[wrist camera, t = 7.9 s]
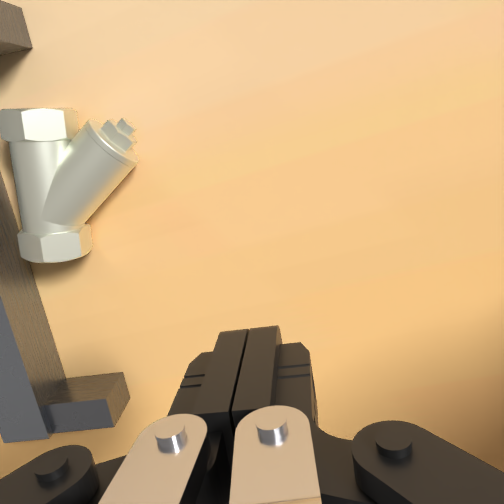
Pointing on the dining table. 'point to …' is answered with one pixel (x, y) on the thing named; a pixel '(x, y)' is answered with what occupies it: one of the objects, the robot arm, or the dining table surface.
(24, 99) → the dining table surface
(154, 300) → the dining table surface
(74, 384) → the stop bracket
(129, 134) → the pipe fitting
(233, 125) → the dining table surface
